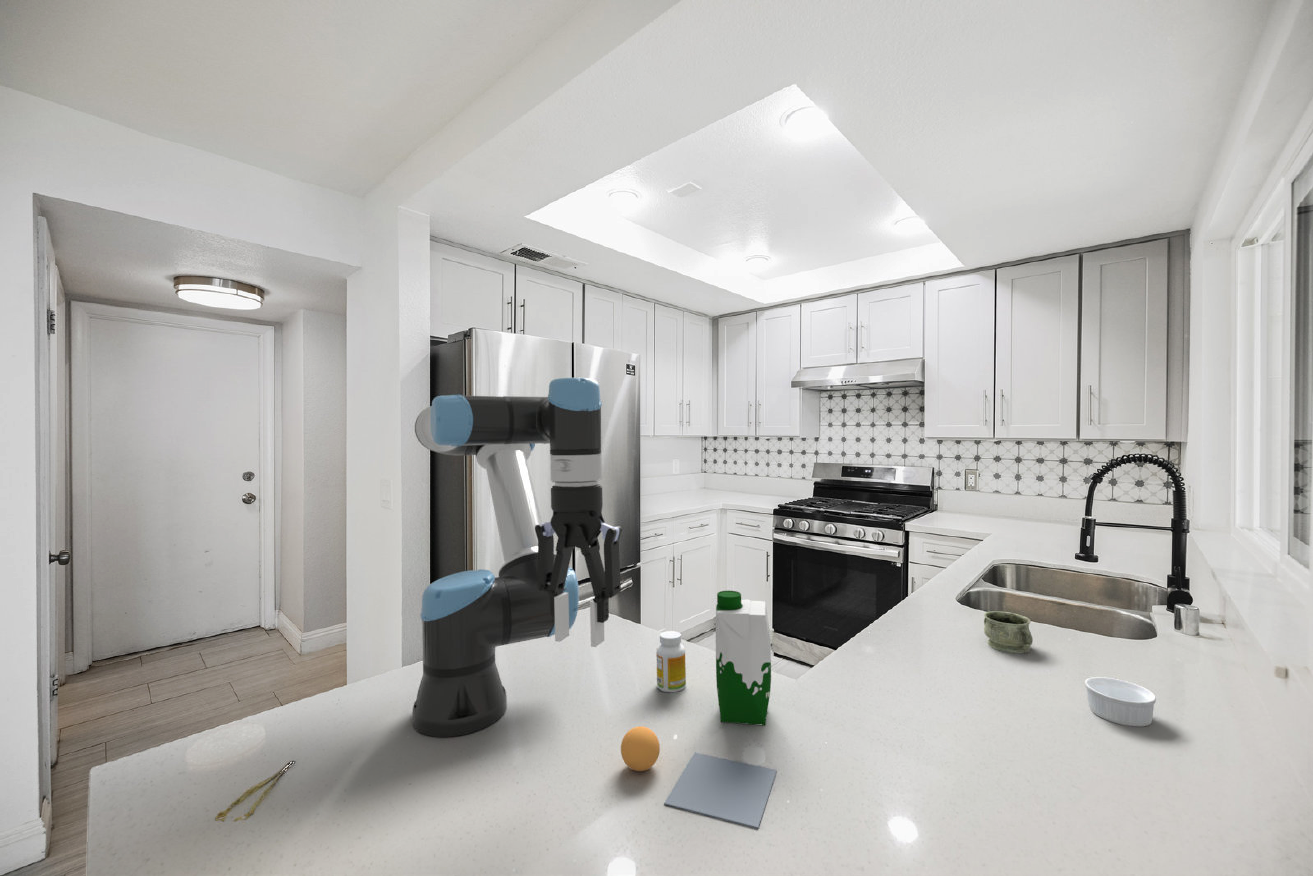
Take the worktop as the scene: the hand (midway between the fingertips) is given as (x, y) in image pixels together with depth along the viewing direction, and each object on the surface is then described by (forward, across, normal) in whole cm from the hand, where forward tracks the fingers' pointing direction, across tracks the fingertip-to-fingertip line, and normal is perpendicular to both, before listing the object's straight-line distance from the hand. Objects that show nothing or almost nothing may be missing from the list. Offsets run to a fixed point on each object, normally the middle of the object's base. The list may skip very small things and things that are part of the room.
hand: (579, 640), depth 81 cm
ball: (+14, +10, 0) cm, 17 cm away
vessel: (+17, +66, +68) cm, 96 cm away
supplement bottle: (+17, +4, +25) cm, 31 cm away
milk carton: (+17, +20, +20) cm, 33 cm away
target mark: (+17, +22, 0) cm, 27 cm away
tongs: (+18, -37, -23) cm, 47 cm away
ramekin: (+17, +76, +41) cm, 88 cm away
